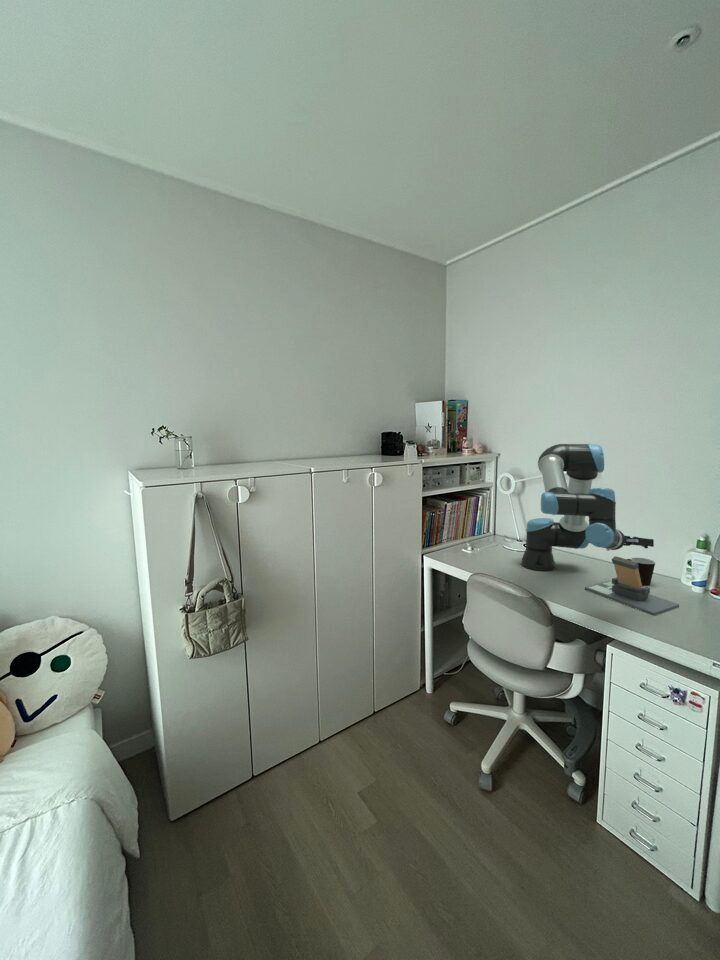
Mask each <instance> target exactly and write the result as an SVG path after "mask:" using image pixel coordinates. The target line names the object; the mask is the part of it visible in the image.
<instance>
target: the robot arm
mask: <svg viewBox="0 0 720 960" xmlns="http://www.w3.org/2000/svg"><path fill="white" fill-rule="evenodd" d="M537 468H538V470H539V472H540V473H541V474H542V479H543V480H542V481H543V484H544V485H543V487H544V492H542V493H541V496H540V510H541V512H542V513H543V514H546V515H553V516H556V515H558V516H559V515H560V516H562V517H560V519H559V520H558V522H555V521H554V519H553V518H550V517H548V518H547V517H539V518H537V517H536V518H532V519H530V520H528V521H527V524H526V535H525V536H526V537H525V551H524V553H523V555H522V558H521V560H520V561H521V566H522V567H524V568H526V569H530V570H533V571H541V572H547V571H548V572H550V571H553V570H555V569H556V561H555V559H554V554H553V547H554V548H555V547H557V548H565V549H575V550H576V549H586V548H587V547H588V546H589V544H591V545H593V546H594V547H595V548H596V547H597V548H602V549H606V551H607V552H608V551H616V550H620V549H621V548H623V547H624V546H626V547H627V546H628V547H629V546H639V547H642V548H644V549H649V547H650V548H653V547H654V545H655V544H654V539H653V538H644V537H638V536H632V537H631V536H630V535H625V534H624V533H623V532H622V531H621V530H620V529H617V524H616V523H617V522H616V504H617V502H616V493H615V490H614V489H612V488H609V487H592V484H593V480H595V479H597V477H598V473H600V474H601V473H604V471H605V454H604V450H603V447H602V446H601V445H600V444H597V443H559V444H554V445H551V446H550V447H548V448H546V449H545V450H543V452H542V453H541V454H540V456H539V458H538V460H537ZM565 472H566V476H567V477H569V479H568V483H567V479H566V477H565ZM586 517H588V522H587V521H586Z"/></svg>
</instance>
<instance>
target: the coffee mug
mask: <svg viewBox="0 0 720 960" xmlns="http://www.w3.org/2000/svg"><path fill="white" fill-rule="evenodd" d="M626 559H627V560H631V561H635V562H638V565H639V567H638V570H639V575H640V579H641V583H642V587H649V586H651V583H652V578H653V574H654V570H655V566H656V561H655V560H653V559H648V558H644V557H631V558H626Z"/></svg>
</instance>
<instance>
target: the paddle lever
mask: <svg viewBox="0 0 720 960" xmlns="http://www.w3.org/2000/svg"><path fill="white" fill-rule="evenodd" d="M627 559H628V558H623V557H619V556H616V555H615V556H613V557H612V558H611V562H612V564H613V566H614V571H615V574H616V577H617V579H618V581H617V583H618V584H621V585H624V586H627V587H630V588H633V589H636V590H639V591H642V588H644V586H642V583H641V579H640V575H639V570H638V567H639V565H638V562H635V561H631V560H627Z"/></svg>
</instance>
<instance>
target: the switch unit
mask: <svg viewBox="0 0 720 960" xmlns="http://www.w3.org/2000/svg"><path fill="white" fill-rule="evenodd" d="M617 581H618V579H617V576H616V577H613V578H611V580H607V581H604V582H600V583H596V584H592V585H588V586H586V587H584V590H585V591H588V592H590V593H593V594H595V595H598V596H600V595H601V597H603V596H604V598H606V599H608V598H609V600H611V599H612V601H614V600H615V602H616V601H618V602H617V603H619V602H620V603H619V604H622V603H623V604H622V605H624V604H625V606H627V605H628V606H627V607H630V606H631V607H630V608H632V607H634V608H633V609H635V608H637V609H636V610H638V609H639V610H638V611H640V610H642V611H641V612H643V611H645V612H644V613H646V612H647V613H646V614H648V613H650V614H649V615H651V614H652V615H651V616H654V615H655V616H658V615H661V614H663V613H666V612H668V611H671V610H674V609H677V608H680V604H679V603H677V602H674V601H671V600H667V599H664V598H662V597H659V596H656V595H653V594H651V587H649V586H644V587H643V588H642V591H639V590H636V589H633V588H630V587H627V586H624V585H621V584H618V583H617ZM660 613H661V614H660ZM657 614H658V615H657Z"/></svg>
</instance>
